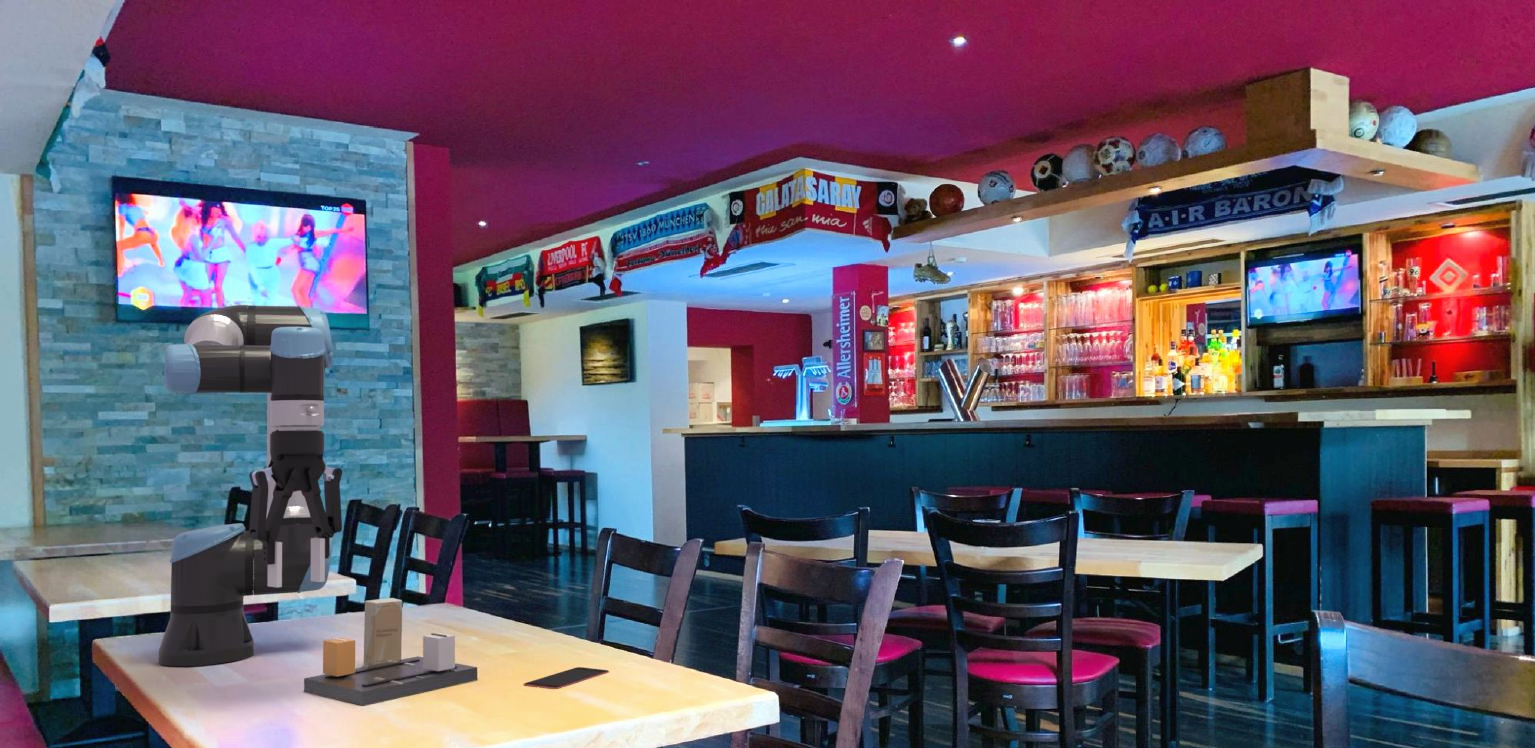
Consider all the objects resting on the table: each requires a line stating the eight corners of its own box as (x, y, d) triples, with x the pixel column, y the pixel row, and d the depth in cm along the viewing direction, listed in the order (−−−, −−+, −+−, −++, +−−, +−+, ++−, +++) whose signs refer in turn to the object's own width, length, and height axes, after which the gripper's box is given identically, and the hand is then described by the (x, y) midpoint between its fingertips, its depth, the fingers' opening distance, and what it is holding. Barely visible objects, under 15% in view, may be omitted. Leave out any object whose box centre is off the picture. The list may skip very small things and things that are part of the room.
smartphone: (612, 670, 179) (556, 688, 167) (612, 673, 179) (556, 692, 167) (577, 666, 182) (520, 683, 170) (577, 669, 182) (520, 687, 170)
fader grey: (423, 668, 172) (423, 634, 172) (439, 664, 175) (439, 631, 175) (438, 671, 170) (438, 637, 170) (454, 667, 172) (454, 634, 172)
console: (302, 691, 168) (302, 676, 169) (416, 668, 184) (416, 654, 184) (364, 705, 158) (364, 690, 158) (478, 680, 174) (478, 666, 174)
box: (372, 669, 183) (372, 602, 184) (362, 666, 187) (362, 600, 187) (403, 665, 187) (403, 599, 187) (392, 661, 190) (393, 596, 191)
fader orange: (323, 673, 170) (323, 639, 170) (340, 669, 172) (341, 636, 172) (337, 676, 167) (337, 641, 167) (355, 672, 170) (355, 638, 170)
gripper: (247, 429, 156) (245, 593, 155) (368, 428, 171) (367, 578, 170) (221, 430, 161) (220, 589, 160) (341, 429, 176) (341, 575, 175)
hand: (296, 583), depth 165 cm, fingers open, 6 cm apart
